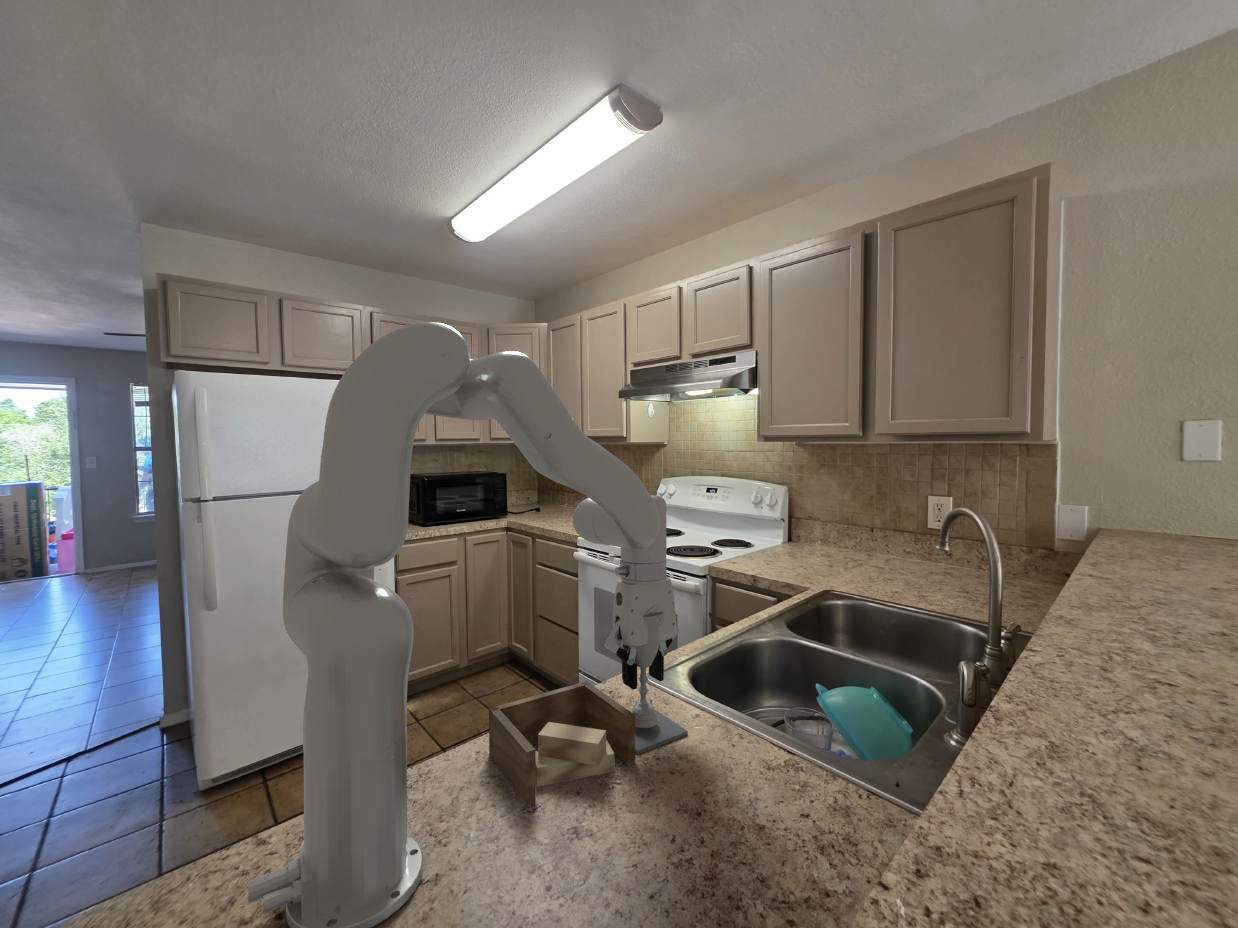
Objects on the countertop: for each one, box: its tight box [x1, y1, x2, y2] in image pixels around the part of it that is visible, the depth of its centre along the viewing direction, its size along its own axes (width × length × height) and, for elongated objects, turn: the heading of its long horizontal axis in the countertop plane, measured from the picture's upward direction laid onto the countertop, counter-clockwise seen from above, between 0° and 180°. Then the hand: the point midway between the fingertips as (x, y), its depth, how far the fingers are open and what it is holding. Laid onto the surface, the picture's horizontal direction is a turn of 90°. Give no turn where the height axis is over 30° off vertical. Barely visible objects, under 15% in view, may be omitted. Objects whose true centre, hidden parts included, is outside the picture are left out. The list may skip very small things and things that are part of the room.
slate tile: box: [635, 709, 689, 755], centre depth 83 cm, size 10×10×1 cm
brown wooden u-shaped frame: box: [488, 680, 636, 808], centre depth 75 cm, size 17×14×7 cm
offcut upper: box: [537, 722, 606, 766], centre depth 72 cm, size 9×4×3 cm, turn 74°
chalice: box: [628, 613, 663, 728], centre depth 83 cm, size 7×7×18 cm
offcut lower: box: [535, 739, 615, 788], centre depth 73 cm, size 11×4×3 cm, turn 108°
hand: (643, 680), depth 83 cm, fingers closed on chalice, 4 cm apart
